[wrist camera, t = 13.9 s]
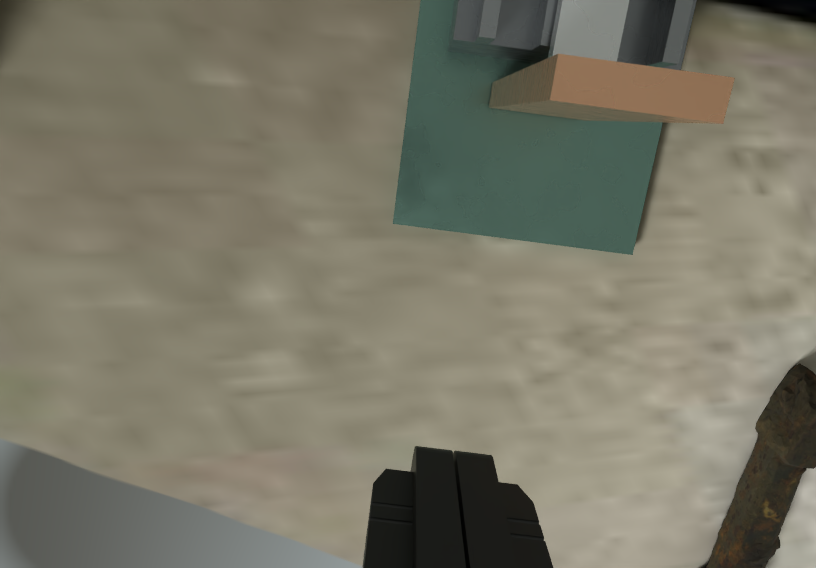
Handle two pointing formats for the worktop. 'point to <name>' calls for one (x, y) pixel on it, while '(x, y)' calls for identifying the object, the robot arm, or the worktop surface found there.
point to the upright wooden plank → (607, 76)
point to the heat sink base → (524, 130)
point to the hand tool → (770, 475)
